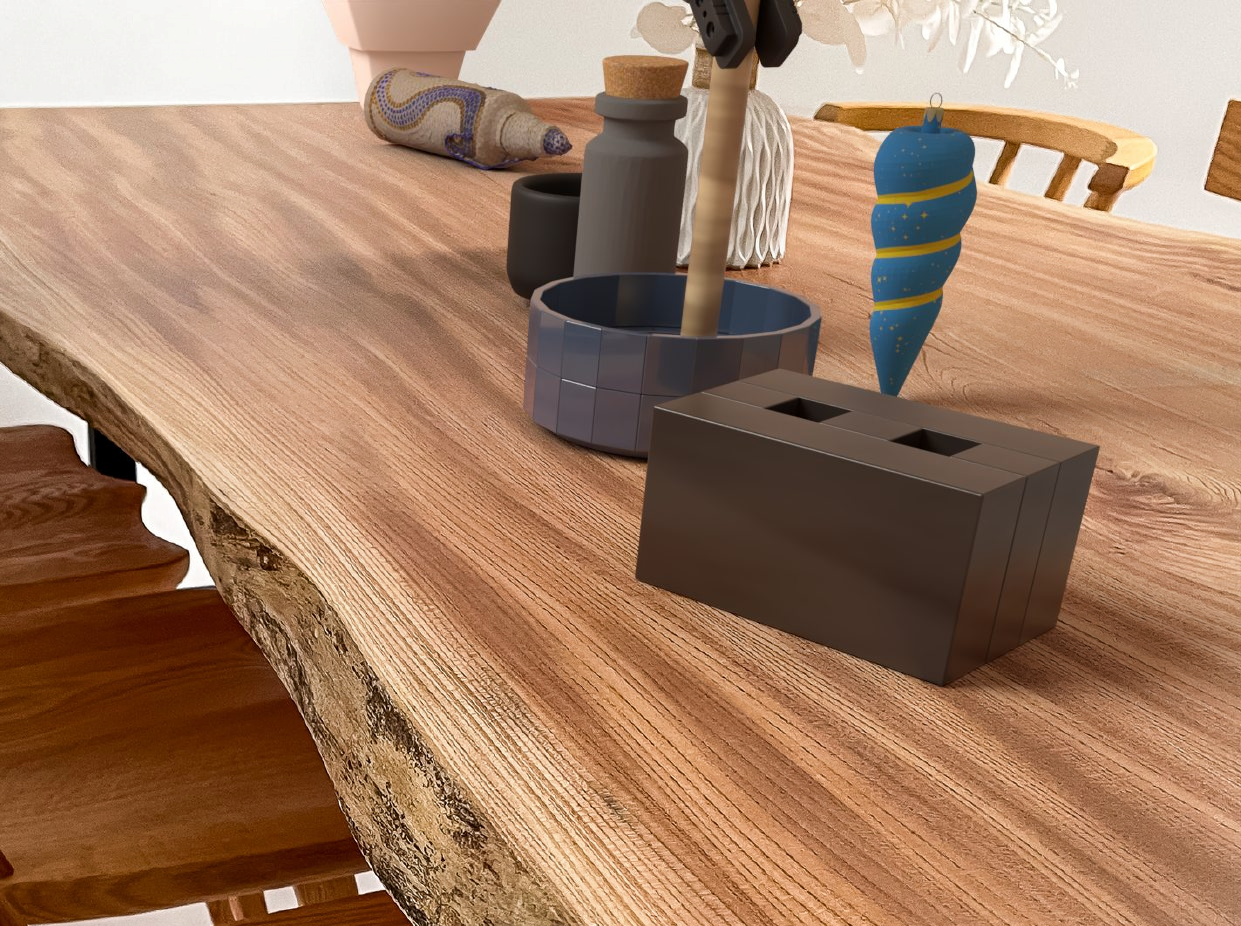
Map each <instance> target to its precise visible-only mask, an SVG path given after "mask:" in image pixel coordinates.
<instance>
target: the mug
mask: <svg viewBox="0 0 1241 926" xmlns="http://www.w3.org/2000/svg"><path fill="white" fill-rule="evenodd" d="M581 182H582V172H552V173H551V172H548V173H538V174H537V173H536V174H531V175H526V176H523V177H520V178H518V179H516V180H515V181H514V182H513V183H512V185H511V188H510V189H511V190H510V200H509V201H510V202H509V205H510V206H509V218H508V232H507V250H506V262H505V263H506V265H505V266H506V267H505V268H506V274H507V278H508V281H509V283H510V286H511V289H512V291H513V292H514V293H515V294H516V295H517V296H519V297H521V298H523V299H525V300H529V301H530V300H531V298H532V295H533V293H534V290H535V289H537V288H539V287H542V286H544V285H546V284H548V283H550V282H552V281H556V280H561V279H566V278H571V277H573V276H574V264H575V252H576V241H577V229H578V217H579V206H580V194H581Z"/></svg>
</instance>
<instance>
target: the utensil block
mask: <svg viewBox="0 0 1241 926" xmlns="http://www.w3.org/2000/svg"><path fill="white" fill-rule="evenodd" d="M1100 449H1101V446H1100V445H1098V444H1095V443H1090V442H1086V441H1083V440H1077V439H1074V438H1070V437H1065V436H1062V435H1057V434H1053V433H1048V432H1044V431H1041V430H1036V429H1032V428H1027V427H1024V426H1020V425H1015V424H1011V423H1007V422H1003V421H999V420H995V419H991V418H987V417H982V416H978V415H974V414H971V413H966V412H961V411H958V410H953V409H951V408H950V409H949V408H945V407H942V406H937V405H933V404H928V403H926V402H925V403H924V402H922V401H921V402H920V401H917V400H912V399H909V398H904V397H901V396H900V397H899V396H897V397H896V396H892V395H888V394H883V393H881V392H879V391H876V390H875V391H874V390H871V389H866V388H863V387H859V386H854V385H850V384H846V383H842V382H838V381H834V380H830V379H826V378H822V377H817V376H814V375H813V376H809V375H805V374H801V373H797V372H792V371H788V370H784V369H776V370H773V371H769V372H766V373H763V374H759V375H756V376H752V377H749V378H745V379H742V380H739V381H736V382H732V383H729V384H725V385H722V386H719V387H715V388H712V389H708V390H705V391H702V392H700V393H696V394H693V395H689V396H686V397H682V398H679V399H676V400H672V401H669V402H665V403H662V404H659V405H655V406H654V408H653V417H652V426H651V435H650V444H649V454H648V458H647V464H646V472H645V482H644V492H643V501H642V509H641V519H640V528H639V535H638V536H639V537H638V546H637V555H636V562H635V563H636V564H635V572H634V578H635V579H636V580H637V581H641V582H644V583H647V584H649V585H652V586H655V587H658V588H661V589H663V590H665V591H666V590H667V591H669V592H672V593H675V594H677V595H680V596H684V597H686V598H689V599H692V600H695V601H698V602H700V603H703V604H707V605H709V606H712V607H715V608H718V609H720V610H723V611H726V612H729V613H731V614H735V615H738V616H741V617H743V618H747V619H748V620H749V619H750V620H752V621H755V622H757V623H759V624H760V623H761V624H763V625H766V626H769V627H772V628H774V629H777V630H780V631H784V632H787V633H789V634H792V635H795V636H798V637H801V638H804V639H807V640H809V641H812V642H816V643H818V644H821V645H823V646H825V647H828V648H832V649H835V650H837V651H841V652H843V653H846V654H848V655H852V656H855V657H857V658H861V659H864V660H866V661H869V662H872V663H875V664H877V665H881V666H882V667H883V666H884V667H886V668H889V669H891V670H895V671H897V672H901V673H903V674H907V675H909V676H912V677H915V678H918V679H921V680H924V681H926V682H929V683H932V684H935V685H937V686H941V687H944V686H946V685H947V684H950V683H952V682H953V681H955V680H957V679H959V678H960V677H962V676H964V675H966V674H968V673H969V672H972V671H974V670H975V669H977V668H980V667H981V666H983V665H984V664H987V663H989V662H991V661H993V660H995V659H996V658H998V657H1001V656H1002V655H1004V654H1006V653H1008V652H1009V651H1012V650H1013V649H1015V648H1017V647H1019V646H1021V645H1023V644H1025V643H1027V642H1029V641H1030V640H1033V639H1034V638H1036V637H1038V636H1040V635H1042V634H1044V633H1045V632H1047V631H1050V630H1051V629H1053V628H1055V627H1057V624H1058V619H1059V615H1060V612H1061V607H1062V604H1063V599H1064V595H1065V591H1066V587H1067V584H1068V580H1069V579H1068V578H1069V575H1070V571H1071V567H1072V563H1073V558H1074V555H1075V550H1076V546H1077V543H1078V539H1079V534H1080V531H1081V530H1080V529H1081V526H1082V523H1083V518H1084V515H1085V514H1084V513H1085V509H1086V506H1087V501H1088V497H1089V493H1090V489H1091V485H1092V481H1093V477H1094V473H1095V468H1096V465H1097V461H1098V457H1099V453H1100Z"/></svg>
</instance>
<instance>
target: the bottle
mask: <svg viewBox="0 0 1241 926" xmlns="http://www.w3.org/2000/svg"><path fill="white" fill-rule="evenodd" d="M689 66H690V63H689V62H688V61H687V60H686V59H682V58H677V57H670V56H662V55H646V54H645V55H644V54H643V55H642V54H637V55H636V54H624V55H623V54H621V55H611V56H607V57H604V58H603V59H602V71H603V72H602V73H603V83H604V91H600V92H598V93H597V94H596V95H595V99H594V113H595V114H596V115H598V116H601V117H603V123H602V124H603V125H602V132H600V133H599V134H597V135H596V136H594V137H593V138H591V139H589V140H588V142H587V143H586V144H585V147H584V153H583V162H582V172H581V173H582V182H581V194H580V206H579V217H578V229H577V241H576V252H575V264H574V276H573V277H575V276H581V275H591V274H602V273H613V272H669V273H677V272H676V271H677V262H678V254H679V253H678V252H679V245H680V236H681V226H682V219H683V208H684V200H685V191H686V184H687V183H686V182H687V173H688V163H689V149H688V146H687V145H686V144H685V143H684V142H683V141H682V140H680V139H679V138H677V137H676V136H675V128H676V123H677V121H679V120H681V119H684V118H685V117H686V116H687V114H688V107H689V98H688V97H687V96H685V95H682V94H681V92H682V89H683V85H684V83H685V79H686V76H687V74H688V73H687V72H688V70H689Z"/></svg>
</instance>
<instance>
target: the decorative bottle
mask: <svg viewBox="0 0 1241 926" xmlns="http://www.w3.org/2000/svg"><path fill="white" fill-rule="evenodd" d="M363 112H364V120H365V123H366V125H367V127H368V129H369V130H370V131H371V132H372V133H373V134H374V135H375V136H376V137H377V138H378V139H380V140H381V141H385V142H387V143H388V144H398V145H400V146H401V145H402V146H407V147H410V148H412V149H416V150H420V151H424V152H428V153H431V154H437V155H439V156H444V157H445V156H446V157H451V158H452V159H455V160H459V161H462V162H464V163H468V164H470V165H472V166H475V167H478V168H479V169H481V170H488V169H508V168H511V167H514V166H516V165H517V164H519V163H520V162H524V161H531V162H535V161H537V160H538V159H539V158H541V159H552V158H555V157H556V156H560V157H562V156H563V155H566V154H568V153H569V152H570V151H571V150H572V149H573V144H572V143H570V139H569V138H568V136H567V135H566V133H565V132H563V131H562V130H561V128H560V127H559V126H557V125H556V124H554V123H551V122H550V123H549V122H547V121H543V120H542V119H541V118H540V117H539V116H537V115H535V114H534V111H533V109H532V107H531V105H530V103H528V102H527V101H526V100H525V99H524V98H523V97H522V96H520V95H519V94H517V93H515V92H511V91H507V90H504V89H501V88H500V89H499V88H495V87H491V86H483V85H480V84H478V83H476V82H474V83H472V82H468V81H463V80H460V79H458V80H457V79H455V80H454V79H450V78H445V77H440V76H435V75H429V74H425V73H420V72H415V71H412V70H410V69H407V68H391V69H387V70H385V71H383V72H381V73H380V74H378V75H377V76H376V77H375V78H374V79H373V80H372V82H371V83H370V85H369V87H368V90H367V92H366V94H365V101H364V111H363Z"/></svg>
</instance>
